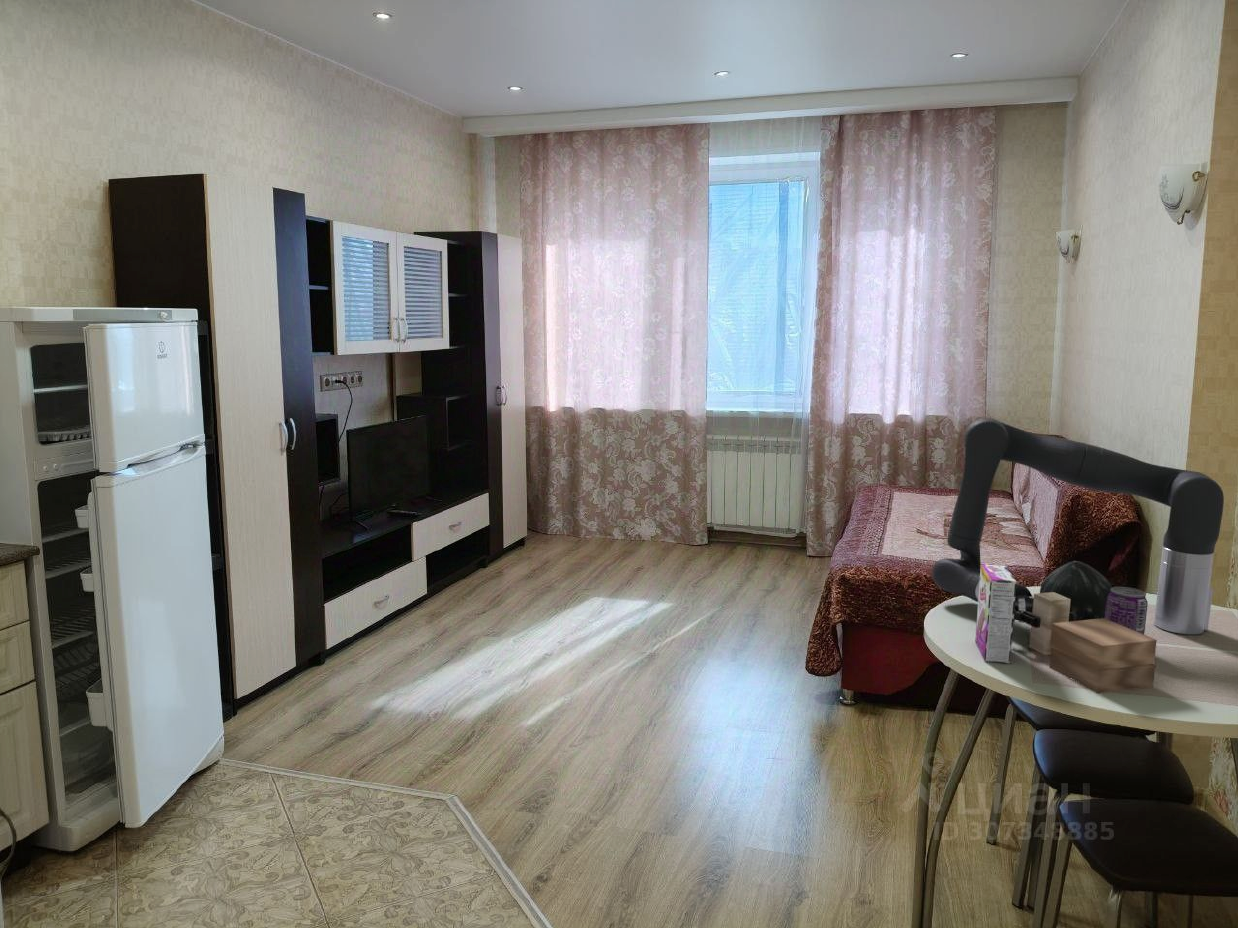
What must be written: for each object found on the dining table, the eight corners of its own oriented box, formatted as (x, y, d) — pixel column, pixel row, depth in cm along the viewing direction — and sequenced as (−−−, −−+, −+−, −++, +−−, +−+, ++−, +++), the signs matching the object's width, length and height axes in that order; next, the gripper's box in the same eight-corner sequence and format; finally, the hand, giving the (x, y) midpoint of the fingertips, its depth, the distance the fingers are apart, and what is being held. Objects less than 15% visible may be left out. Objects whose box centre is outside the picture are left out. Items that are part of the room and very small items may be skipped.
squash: (1107, 589, 206) (1067, 540, 204) (1143, 614, 192) (1100, 561, 189) (1054, 628, 208) (1014, 580, 206) (1085, 656, 194) (1043, 604, 192)
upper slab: (1101, 640, 178) (1103, 617, 177) (1153, 663, 167) (1156, 639, 166) (1049, 646, 174) (1052, 623, 174) (1099, 670, 163) (1102, 646, 162)
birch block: (1048, 644, 187) (1054, 592, 185) (1065, 653, 183) (1070, 599, 181) (1029, 646, 186) (1034, 593, 184) (1045, 655, 181) (1050, 600, 180)
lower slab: (1101, 663, 178) (1104, 641, 178) (1152, 688, 167) (1155, 664, 166) (1049, 669, 175) (1051, 646, 174) (1097, 695, 164) (1100, 670, 163)
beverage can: (1138, 645, 187) (1145, 588, 185) (1145, 657, 181) (1152, 598, 179) (1099, 641, 190) (1105, 584, 188) (1104, 653, 183) (1111, 594, 181)
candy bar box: (973, 641, 188) (979, 563, 185) (999, 644, 187) (1006, 564, 184) (982, 662, 177) (990, 578, 174) (1010, 664, 176) (1018, 580, 173)
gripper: (974, 581, 194) (1027, 605, 179) (1033, 577, 198) (1090, 600, 182) (972, 615, 195) (1024, 642, 180) (1030, 610, 199) (1086, 637, 184)
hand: (1057, 621), depth 181 cm, fingers open, 8 cm apart
